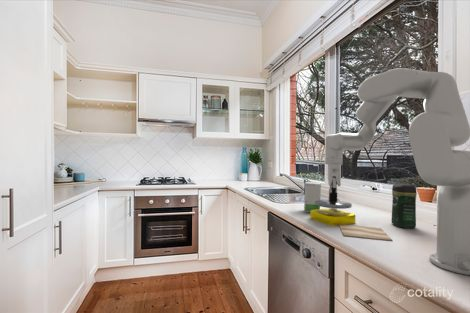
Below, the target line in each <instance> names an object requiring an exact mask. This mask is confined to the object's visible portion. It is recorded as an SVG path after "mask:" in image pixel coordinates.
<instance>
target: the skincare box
mask: <svg viewBox="0 0 470 313" xmlns="http://www.w3.org/2000/svg"><path fill="white" fill-rule="evenodd" d="M304 184H305V186H304V201H303V202H304V206H303V212H304V213H311V210H317V209H321V206H317V205H315V201H316V200H321V197H322V196H321V195H322V194H321V190H322V184H321V182H310V181H305V183H304Z"/></svg>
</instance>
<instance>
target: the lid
mask: <svg viewBox="0 0 470 313" xmlns="http://www.w3.org/2000/svg"><path fill="white" fill-rule="evenodd" d="M315 205H317V206H320V208H325V209H329V208H335V209H338V210H341V209H342V210H343V209H351V208H352V207H353V204H352V203H351V202H348V201H344V200H339V199H337V202H331V201H330V188H329V189H328V199H320V200H316V201H315Z"/></svg>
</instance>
